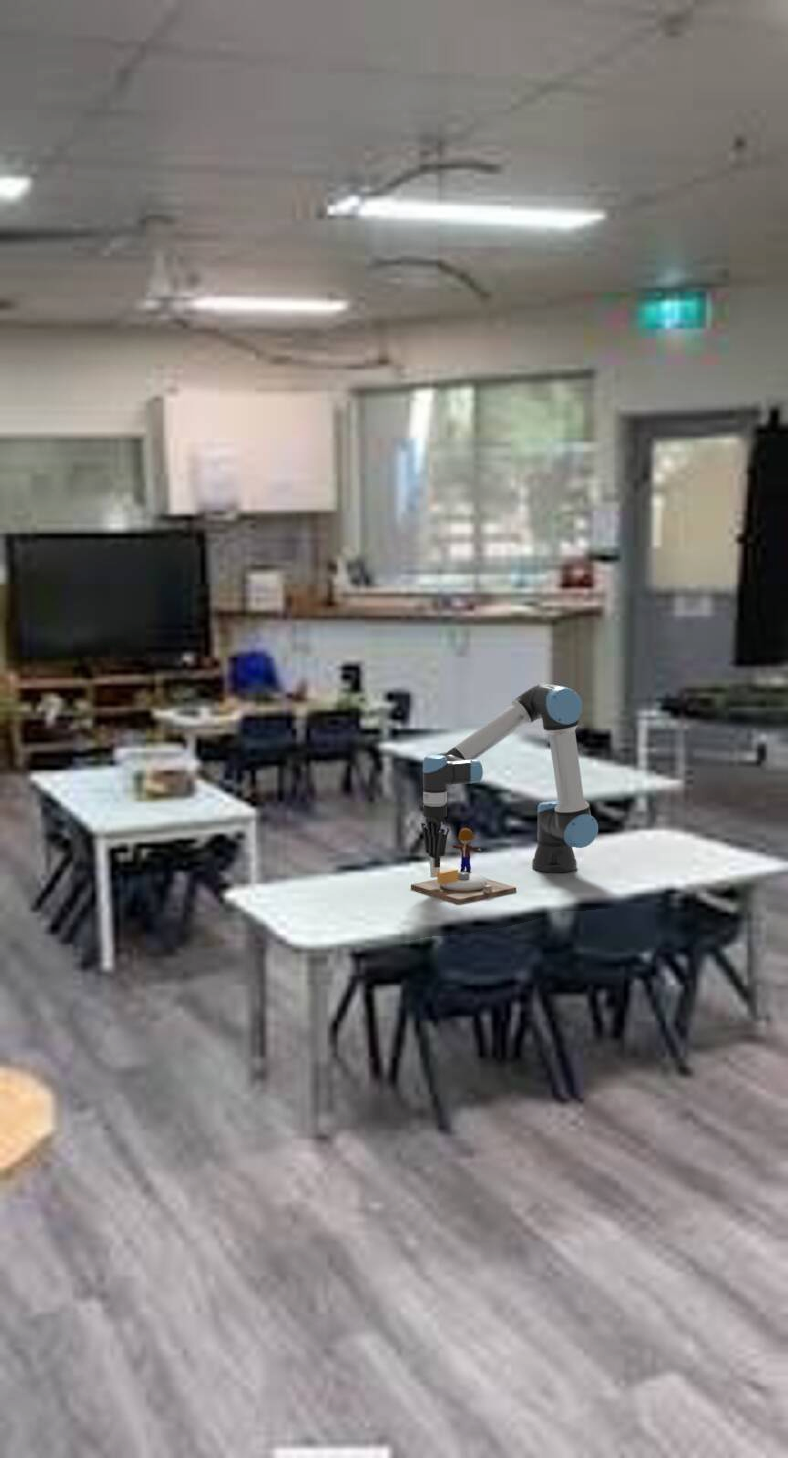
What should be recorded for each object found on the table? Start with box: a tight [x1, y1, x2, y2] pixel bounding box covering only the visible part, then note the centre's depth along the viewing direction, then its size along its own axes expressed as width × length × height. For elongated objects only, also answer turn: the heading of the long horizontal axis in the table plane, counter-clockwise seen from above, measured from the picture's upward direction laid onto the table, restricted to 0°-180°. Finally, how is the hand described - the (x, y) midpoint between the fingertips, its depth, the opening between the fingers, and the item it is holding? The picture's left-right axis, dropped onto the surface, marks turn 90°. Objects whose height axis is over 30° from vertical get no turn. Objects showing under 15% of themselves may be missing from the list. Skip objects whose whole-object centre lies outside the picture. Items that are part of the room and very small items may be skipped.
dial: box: [436, 868, 488, 891], centre depth 461 cm, size 18×15×6 cm
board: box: [410, 878, 517, 905], centre depth 462 cm, size 24×24×4 cm
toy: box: [450, 827, 482, 873], centre depth 486 cm, size 11×6×15 cm, turn 62°
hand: (435, 876), depth 460 cm, fingers closed
